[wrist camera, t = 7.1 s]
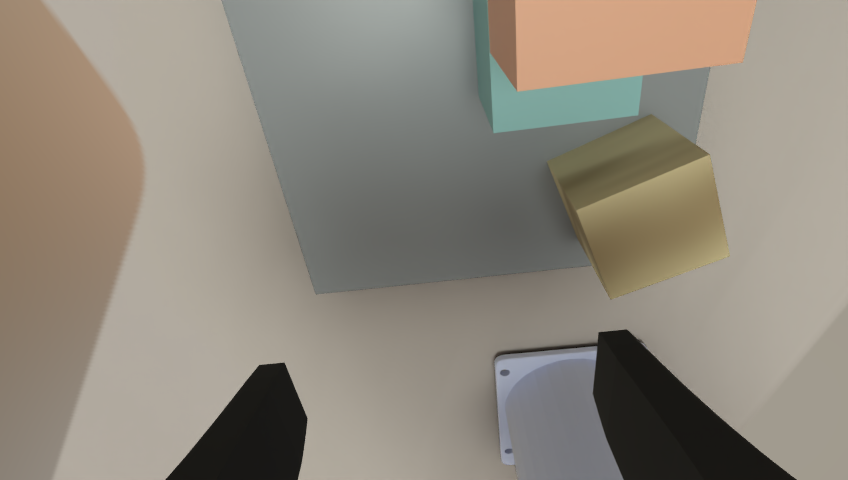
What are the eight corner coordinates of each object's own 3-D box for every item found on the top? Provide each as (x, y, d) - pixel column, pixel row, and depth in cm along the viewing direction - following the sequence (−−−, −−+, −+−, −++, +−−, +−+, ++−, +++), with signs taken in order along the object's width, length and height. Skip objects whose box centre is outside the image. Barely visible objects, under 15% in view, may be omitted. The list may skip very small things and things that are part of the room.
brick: (673, 201, 19) (729, 256, 15) (577, 239, 20) (610, 299, 16) (651, 113, 17) (710, 154, 13) (546, 161, 18) (576, 210, 14)
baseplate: (661, 242, 21) (673, 256, 20) (320, 278, 22) (315, 294, 21) (786, -487, 11) (825, -533, 10) (127, -352, 12) (99, -382, 11)
